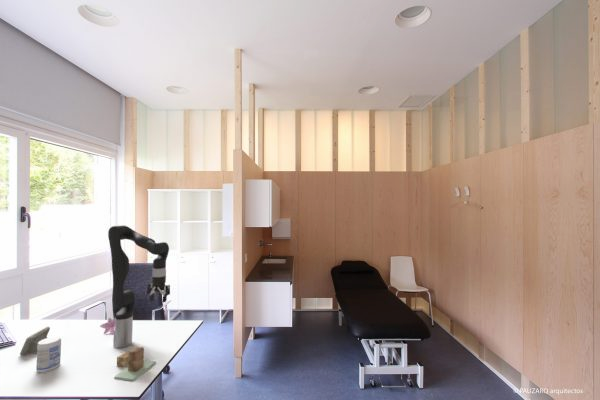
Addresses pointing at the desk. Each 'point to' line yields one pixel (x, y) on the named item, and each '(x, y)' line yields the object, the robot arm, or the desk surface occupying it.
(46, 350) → the supplement tub
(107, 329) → the lily
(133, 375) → the pad
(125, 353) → the short oak block
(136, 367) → the tall walnut block
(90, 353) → the desk surface
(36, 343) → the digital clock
